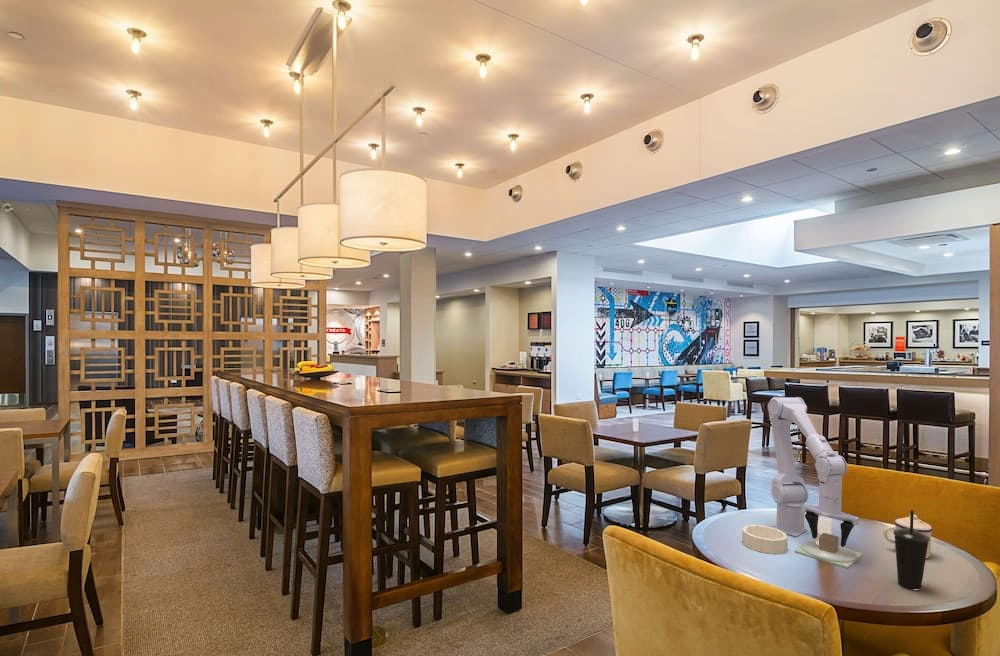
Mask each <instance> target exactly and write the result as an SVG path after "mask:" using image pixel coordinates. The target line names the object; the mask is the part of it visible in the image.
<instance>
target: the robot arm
mask: <svg viewBox="0 0 1000 656" xmlns="http://www.w3.org/2000/svg"><path fill="white" fill-rule="evenodd" d="M767 410H768V417H769V421H770V423H771V428H772V429H771V430H772V437H773V443H774V451H775V458H776V464H777V472H778V474H777V475H776V476H774V477H773V478H772V479H771V491H770V492H771V493H770V494H771V497H772V499H773V500H774V503H776V525H775V526H773V527H772V528H775V529H778V530H780V531H782V532H784V533H786V535H789V536H793V537H799V536H800V535H802V534H803V533H805V532H806V531H808V528H806V527H805V519H806V522H807V524H808V526H809V529H810V531H811V532H810V533H811V537H812V538H811V539H813V540H816V539H817V538H818V532H819V531H818V526H819V525H818V524H819V519H820V518H819V517H821V516H822V517H825V518H829V519H833V520H837V521H841V523H840V532H841V534H840V535H841V537H840V545H841V546H842V547H847V541H848V539H849V536H850V534H851V531H852V530H853V528H854V527H855V526H858V525H859V519H860V518H859V516H855V515H852V514H849V513H846V512H844V511H842V491H843V487H842V486H843V483H842V482H843V476H845V475H846V474H847V472H848V463H847V461H846V459H845V457H843V456H841V455H839V454H838V453H837V452H835V451H834V450H833V448H832V446H831V445H830V444H829V442H828V441H827V438H826V437H825V436H824V435H822V434H819V433H817V430H816V429H815V426H814V425H813V423H812V421H811V419H810V417H809V416H808V414H807V412H808V406H807V405H806V403H805V401H804V399H803V398H802V397H801V396H800V397H799V396H796V397H779V396H773V397H772V398H771V399H770V400H769V402H768V404H767ZM792 423H794V424H795V426H796V427H797V428H798V429H799V431H801V433H802V434H803V436H804V437H805V439H806V440H805V446H806V447H807V449H808V450H809V452H810V454H811V455H812V457H813V459H814V460H815V461H816V462H815V463H814V467H815V470H816V472H817V479H818V481H819V487H818V491H819V493H818V505H810V504H806V502H807V501H808V499H809V491H808V489H807V487H806V484H805V480H804V479H803V478H802V477H801V476H799V475H798V473H797V470H796V469H797V467H796V462H795V456H794V450H793V449H794V447H793V444H792V443H793V441H792V437H791V430H790V429H791V428H790V426H791V425H792Z"/></svg>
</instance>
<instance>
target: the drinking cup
mask: <svg viewBox="0 0 1000 656" xmlns="http://www.w3.org/2000/svg"><path fill="white" fill-rule="evenodd" d="M914 512H915V510H913V509H910V514H909V515H910V529H897V530H893V532H892V533H893V535H894V541H895V544H894V548H895V547H896V550H895V558H896V573H897V584H898V586H900V587H901V588H903V587H904V589H906V588H907V589H906V590H909V589H920V588H921V589H922V585H923V577H924V573H925V565H926V560H927V559H926V553H927V547H928V542H929V541H930V538H929V537H928V536H926V535H924V534H923V533H921V532H919V531H916V530H913V518H914V515H915V513H914Z"/></svg>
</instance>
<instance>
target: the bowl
mask: <svg viewBox="0 0 1000 656" xmlns="http://www.w3.org/2000/svg"><path fill="white" fill-rule="evenodd" d="M787 535H788V534H786V533H784V532H782V531H780V530H778V529H775V528H773V527H771V526H767V525H759V524H751V525H749V524H747V525H745V526H742V531H741V541H743V542H742V545H743V544H744V545H743V546H745V547H746V548H748V549H750V550H753V551H755V552H759V553H764V554H771V555H779V554H785V553H786V552H787V551H788V540H789V539H788V536H787Z"/></svg>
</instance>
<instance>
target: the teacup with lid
mask: <svg viewBox="0 0 1000 656" xmlns="http://www.w3.org/2000/svg"><path fill="white" fill-rule="evenodd" d="M894 524H895V526H887V527H885V528H883V536H884V538H885V539H886V541H887V542H888V543H891V544H894V545H895V540H892V539H889V537H888V531H889V530H893V531H894V530H897V529H910V514H909V516H906V517H901V518H896V519H895V520H894ZM913 530H916V531H919V532H921V533H923V534H924V535H926V536H928V537H929V538H930V541H929V542H928V547H927V553H926V557H929V556H930V557H931V555H932V553H931V552H932V551H931V549H932V548H931V547H932V531H933V527H932V526H931V525H930V524H929V523H927V522H924V521H922V520H921V519H919V518H918V515H916V514H914V518H913ZM894 551H896V547H895V546H894Z"/></svg>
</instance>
